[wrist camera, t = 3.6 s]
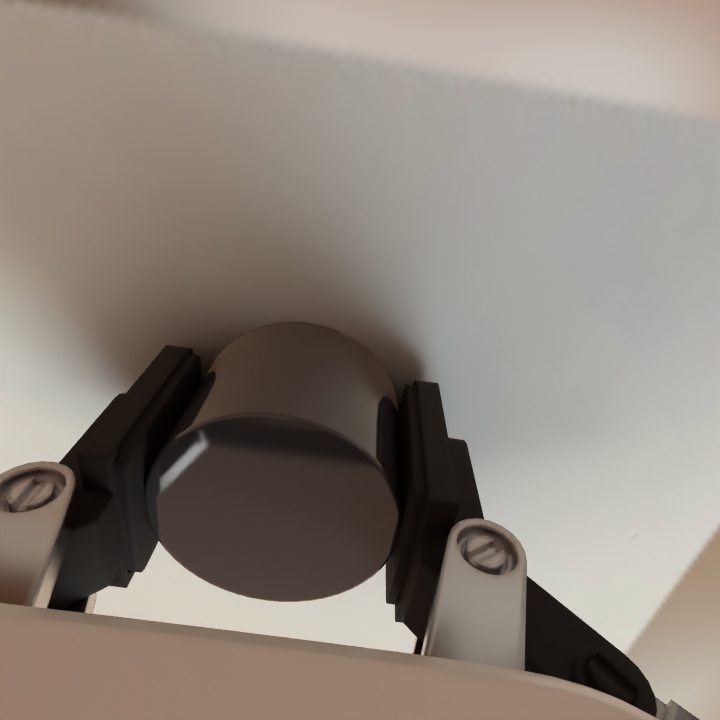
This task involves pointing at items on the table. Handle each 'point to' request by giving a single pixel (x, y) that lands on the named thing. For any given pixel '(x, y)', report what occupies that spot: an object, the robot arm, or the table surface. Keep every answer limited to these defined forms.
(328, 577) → the dark brown puck
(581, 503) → the table surface
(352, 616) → the table surface
